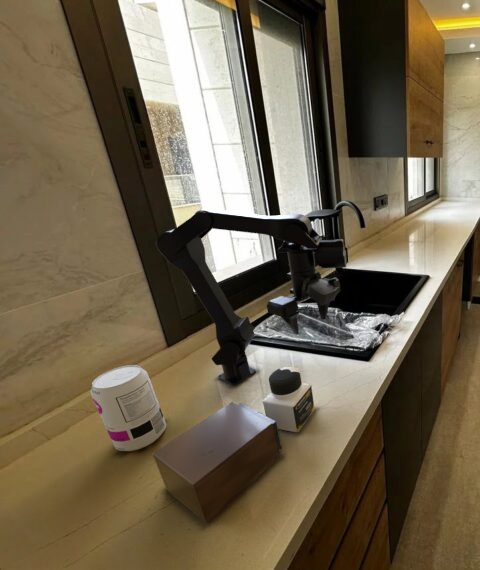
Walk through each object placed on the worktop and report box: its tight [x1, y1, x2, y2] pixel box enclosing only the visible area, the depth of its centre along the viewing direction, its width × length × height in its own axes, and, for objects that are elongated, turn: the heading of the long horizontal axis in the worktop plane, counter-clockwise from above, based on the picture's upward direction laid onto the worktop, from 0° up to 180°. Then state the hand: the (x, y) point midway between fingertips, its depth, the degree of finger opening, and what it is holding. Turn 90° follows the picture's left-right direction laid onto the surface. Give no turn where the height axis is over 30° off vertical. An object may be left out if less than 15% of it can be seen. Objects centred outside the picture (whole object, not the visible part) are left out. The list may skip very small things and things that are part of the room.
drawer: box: [237, 402, 282, 452], centre depth 59 cm, size 14×10×7 cm
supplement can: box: [90, 364, 167, 452], centre depth 64 cm, size 8×8×15 cm
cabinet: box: [151, 401, 280, 524], centre depth 57 cm, size 14×12×9 cm
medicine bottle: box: [262, 366, 316, 433], centre depth 69 cm, size 7×7×12 cm
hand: (310, 326), depth 84 cm, fingers open, 9 cm apart
